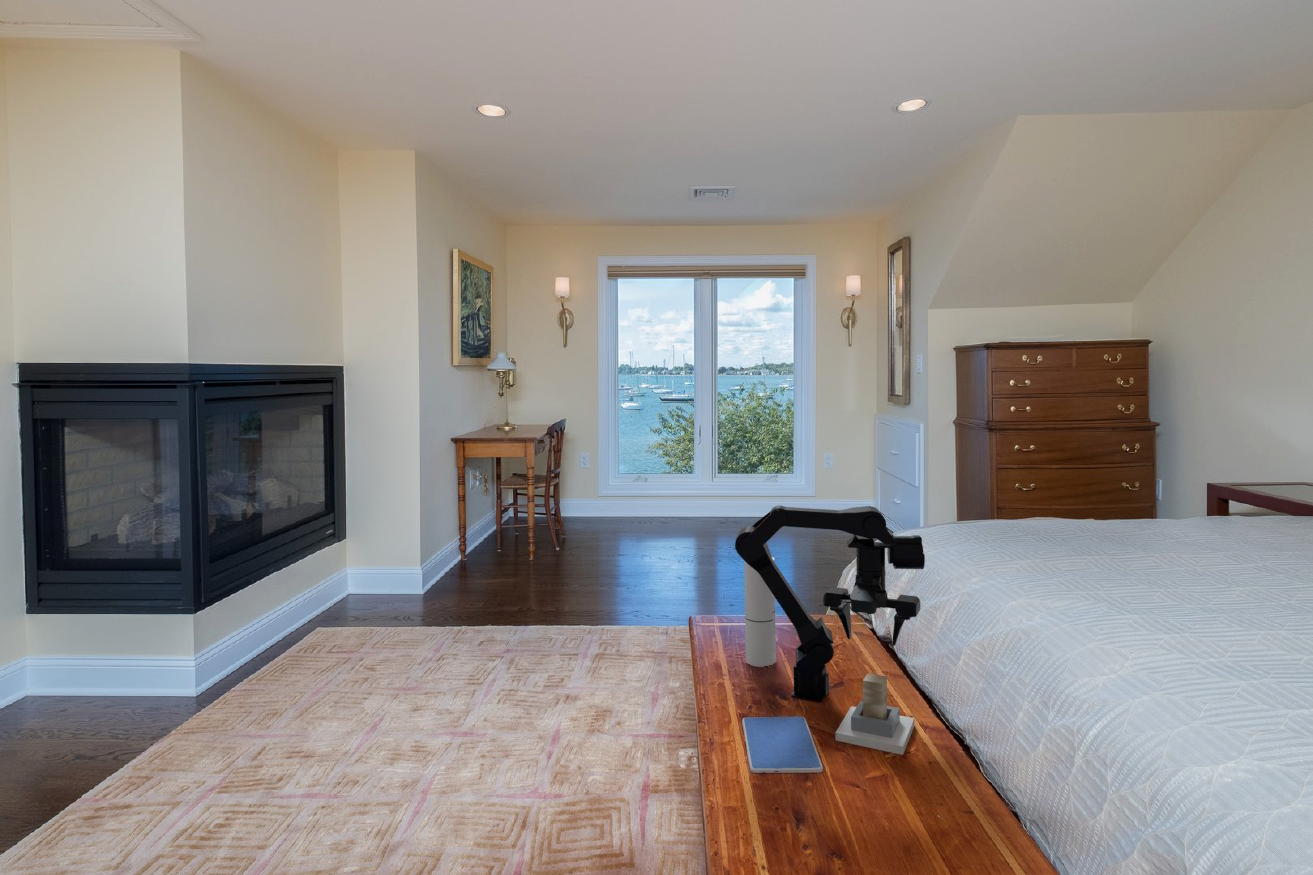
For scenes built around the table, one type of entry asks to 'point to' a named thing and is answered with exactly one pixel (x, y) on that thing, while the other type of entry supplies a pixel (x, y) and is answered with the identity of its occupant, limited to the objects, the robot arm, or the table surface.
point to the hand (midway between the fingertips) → (871, 641)
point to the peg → (875, 696)
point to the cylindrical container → (759, 620)
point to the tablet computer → (780, 745)
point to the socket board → (876, 730)
